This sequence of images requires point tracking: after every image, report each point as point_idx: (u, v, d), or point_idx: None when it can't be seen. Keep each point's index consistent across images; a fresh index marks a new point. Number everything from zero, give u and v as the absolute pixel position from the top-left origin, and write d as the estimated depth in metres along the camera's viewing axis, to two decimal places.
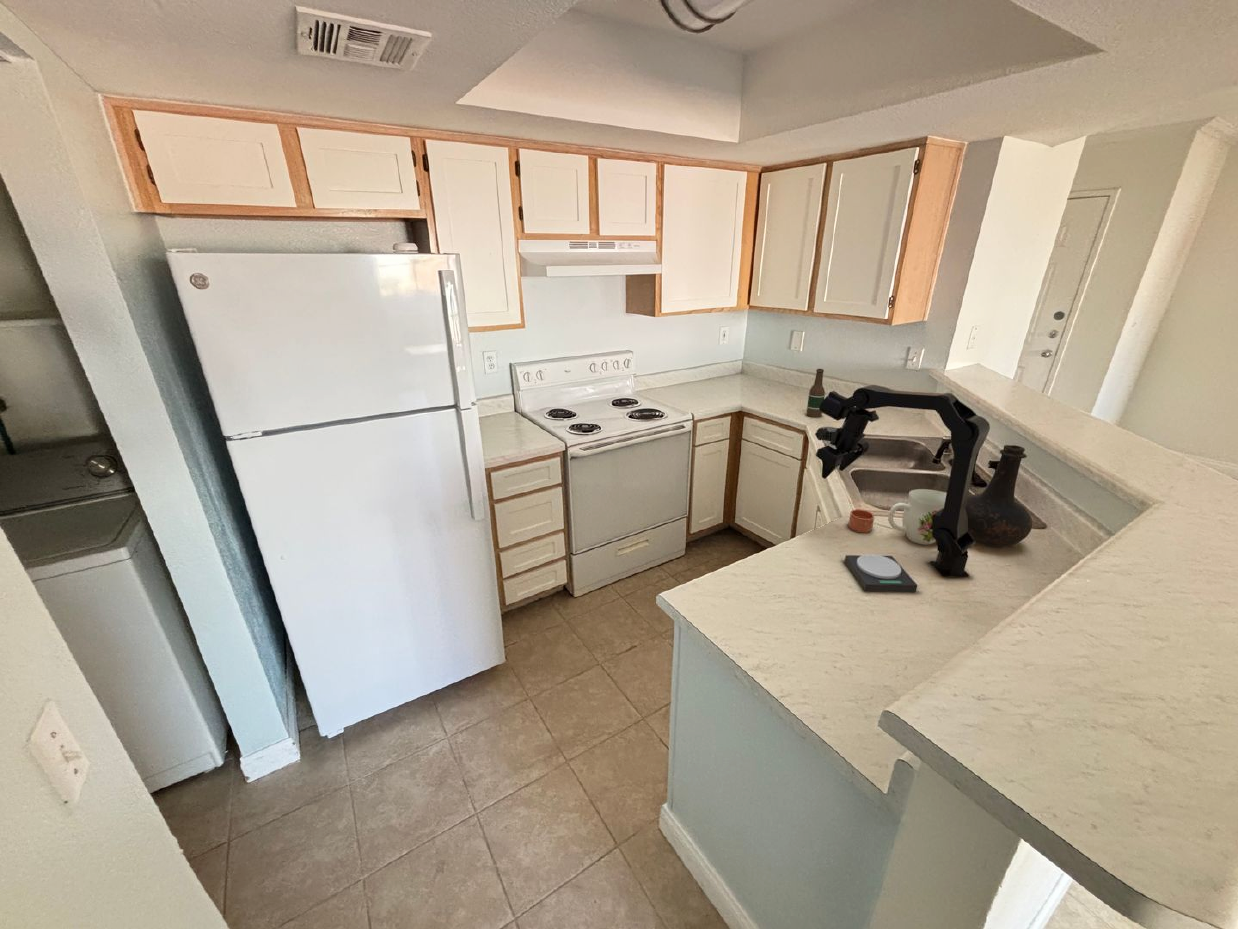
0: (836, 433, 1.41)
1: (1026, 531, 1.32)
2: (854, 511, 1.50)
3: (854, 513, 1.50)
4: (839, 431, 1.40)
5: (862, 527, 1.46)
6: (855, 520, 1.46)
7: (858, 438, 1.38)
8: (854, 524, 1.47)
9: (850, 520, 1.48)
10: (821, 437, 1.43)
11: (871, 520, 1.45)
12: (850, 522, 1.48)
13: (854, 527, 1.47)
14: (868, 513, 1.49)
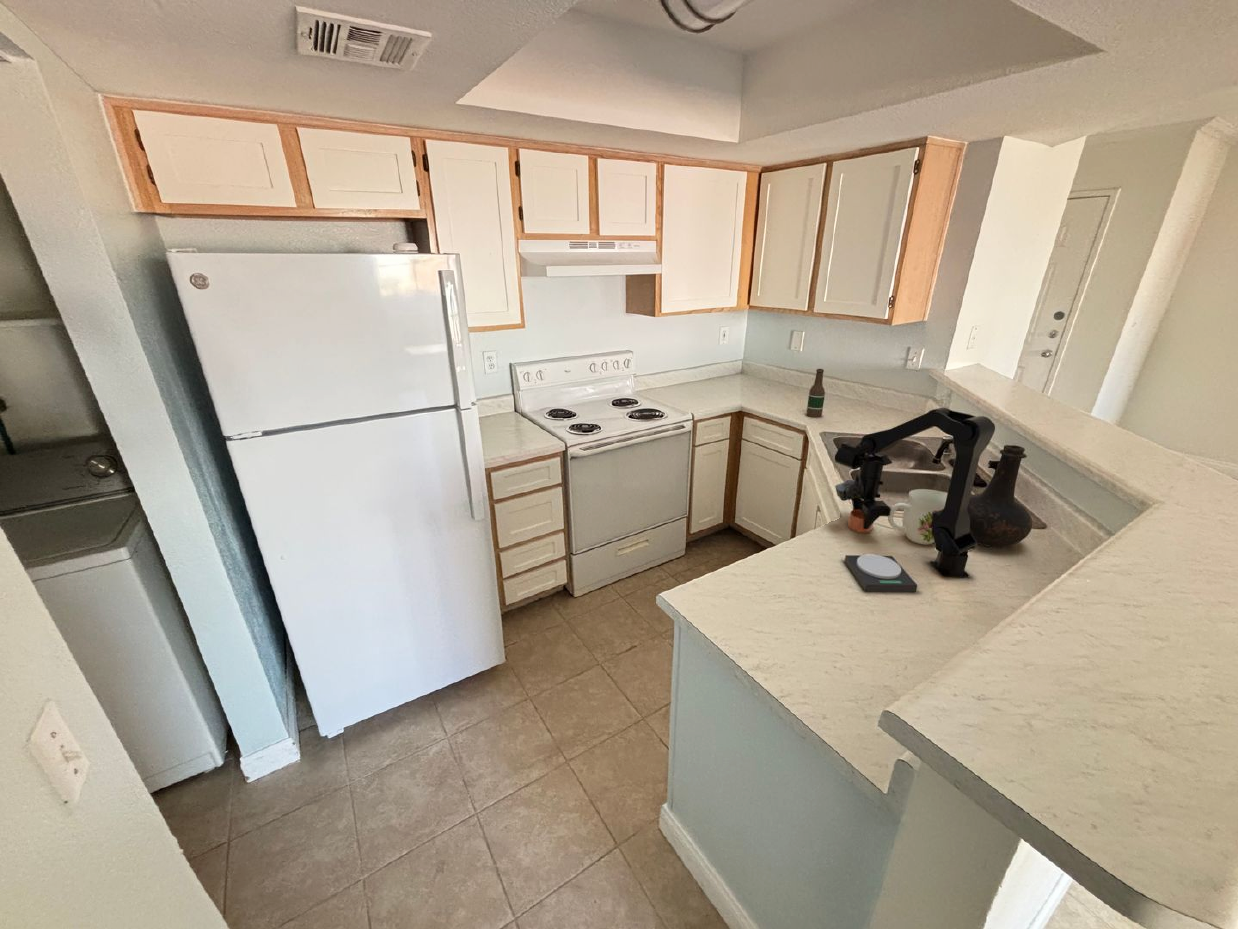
0: (862, 486, 1.41)
1: (1026, 531, 1.32)
2: (854, 511, 1.50)
3: (854, 513, 1.50)
4: (864, 483, 1.41)
5: (862, 527, 1.46)
6: (855, 520, 1.46)
7: None
8: (854, 524, 1.47)
9: (850, 520, 1.48)
10: (853, 497, 1.41)
11: None
12: (850, 522, 1.48)
13: (854, 527, 1.47)
14: None
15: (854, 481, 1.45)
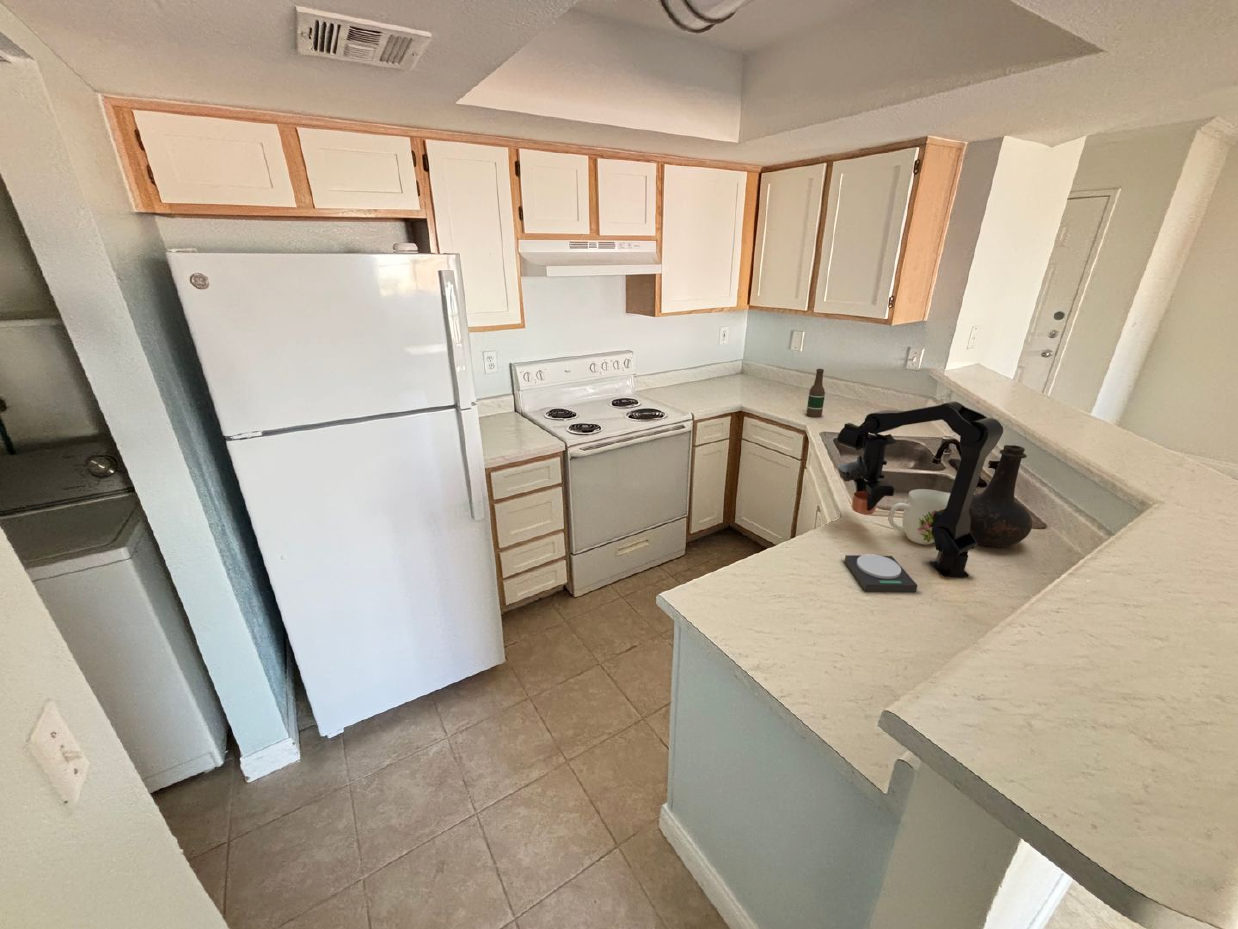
0: (866, 466, 1.39)
1: (1026, 531, 1.32)
2: (857, 493, 1.48)
3: (857, 495, 1.48)
4: (868, 463, 1.39)
5: (865, 509, 1.43)
6: (858, 502, 1.44)
7: None
8: (857, 506, 1.44)
9: (853, 502, 1.46)
10: (856, 477, 1.39)
11: None
12: (853, 504, 1.46)
13: (857, 509, 1.45)
14: None
15: (857, 462, 1.43)
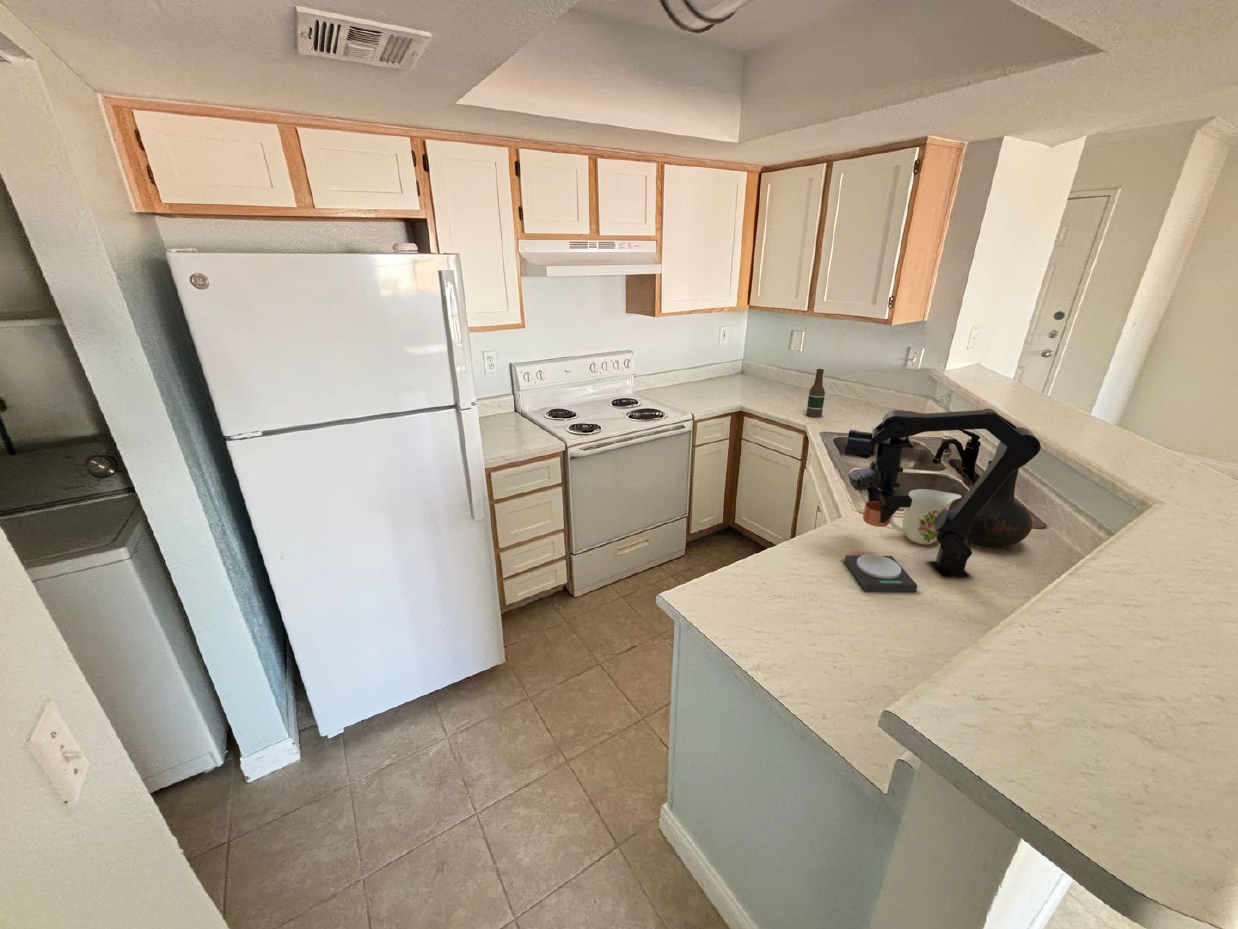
0: (879, 474, 1.24)
1: (1026, 531, 1.32)
2: (869, 503, 1.33)
3: (869, 505, 1.33)
4: (882, 470, 1.24)
5: (878, 521, 1.29)
6: (870, 513, 1.29)
7: None
8: (869, 517, 1.30)
9: (865, 513, 1.31)
10: (869, 486, 1.24)
11: None
12: (865, 515, 1.31)
13: (869, 521, 1.30)
14: None
15: (870, 468, 1.28)
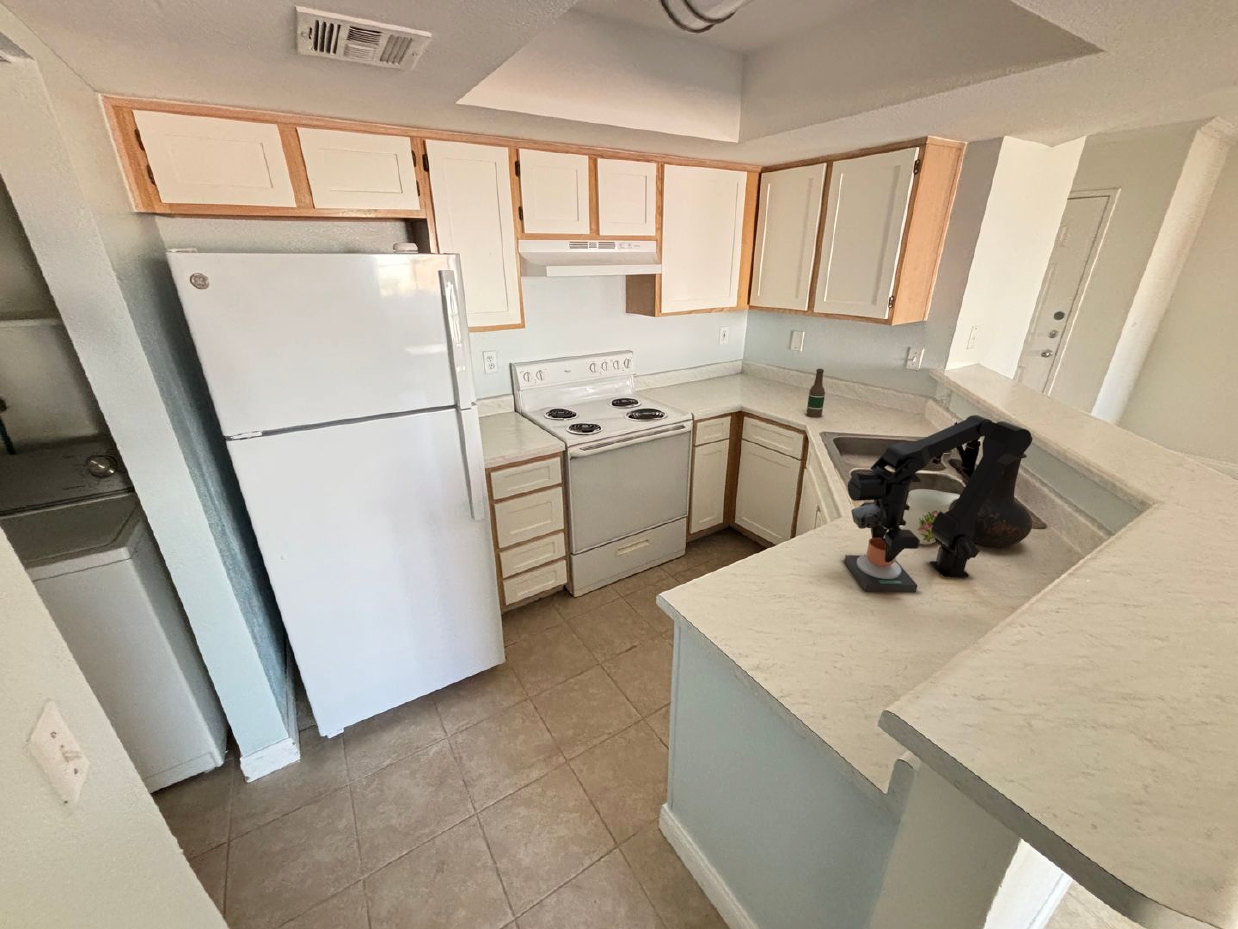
0: (884, 512, 1.18)
1: (1026, 531, 1.32)
2: (873, 540, 1.26)
3: (873, 542, 1.26)
4: (887, 508, 1.17)
5: (883, 560, 1.22)
6: (874, 552, 1.22)
7: None
8: (873, 556, 1.23)
9: (868, 551, 1.24)
10: (874, 525, 1.17)
11: None
12: (868, 553, 1.24)
13: (873, 559, 1.23)
14: None
15: (874, 505, 1.21)
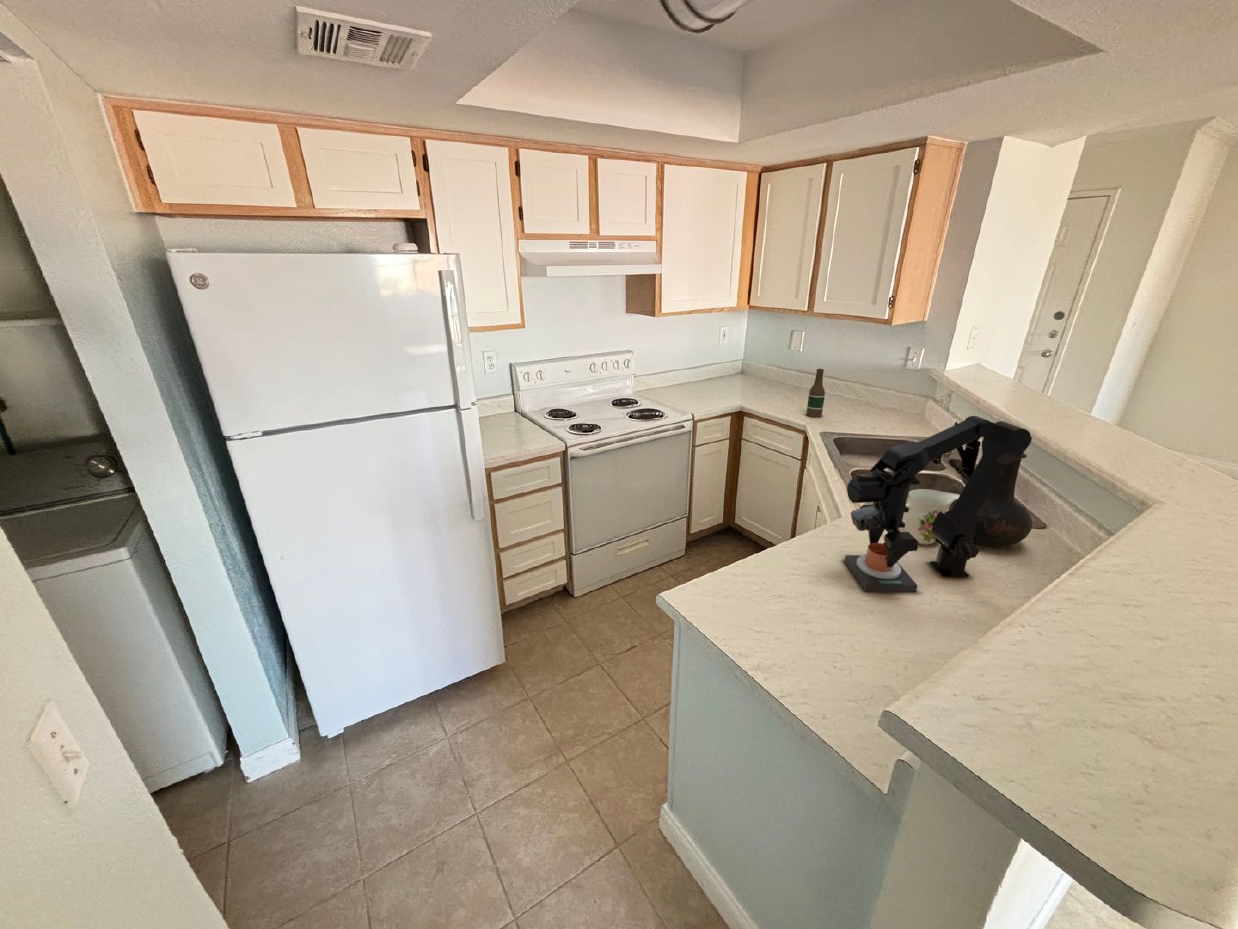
0: (884, 514, 1.18)
1: (1026, 531, 1.32)
2: (872, 545, 1.27)
3: (872, 547, 1.27)
4: (886, 510, 1.18)
5: (882, 565, 1.22)
6: (873, 557, 1.23)
7: None
8: (872, 561, 1.23)
9: (867, 556, 1.25)
10: (873, 527, 1.17)
11: None
12: (867, 558, 1.25)
13: (872, 565, 1.24)
14: None
15: (873, 507, 1.21)
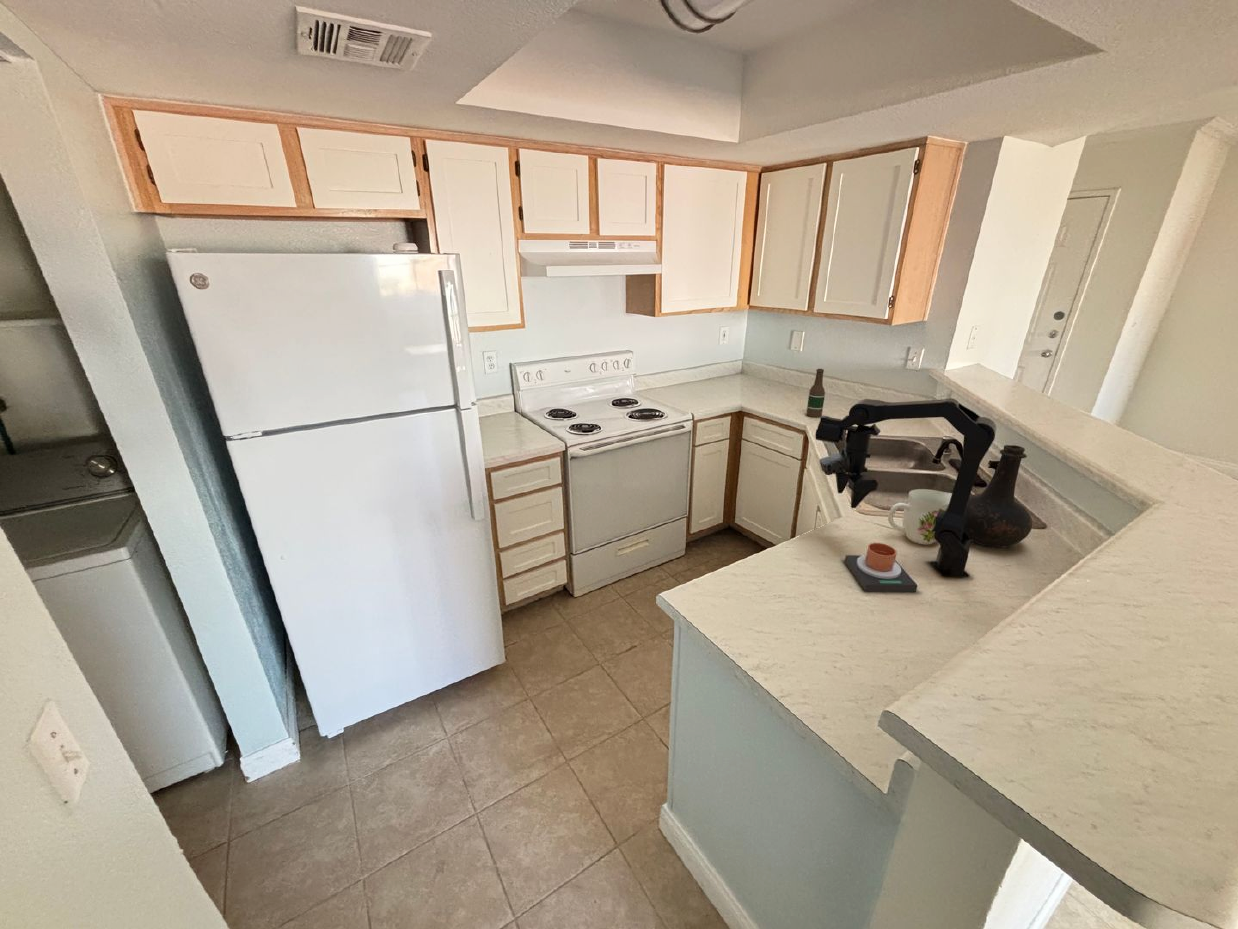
0: (848, 459, 1.31)
1: (1026, 531, 1.32)
2: (872, 545, 1.27)
3: (872, 547, 1.27)
4: (850, 456, 1.31)
5: (882, 565, 1.22)
6: (873, 557, 1.23)
7: None
8: (872, 561, 1.23)
9: (867, 556, 1.25)
10: (838, 470, 1.31)
11: (893, 557, 1.22)
12: (867, 558, 1.25)
13: (872, 565, 1.24)
14: (889, 548, 1.25)
15: (839, 454, 1.35)
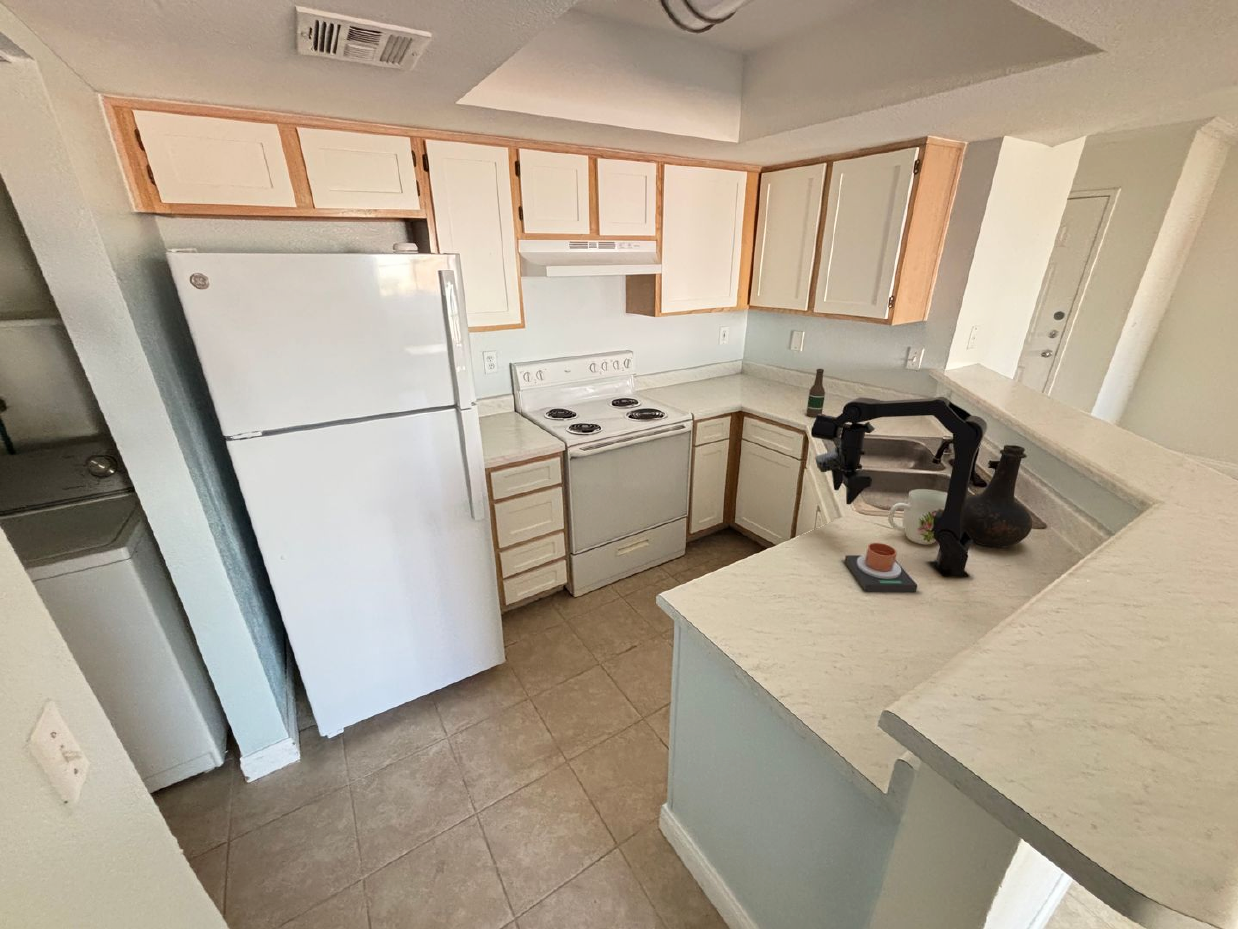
0: (843, 457, 1.34)
1: (1026, 531, 1.32)
2: (872, 545, 1.27)
3: (872, 547, 1.27)
4: (845, 453, 1.34)
5: (882, 565, 1.22)
6: (873, 557, 1.23)
7: None
8: (872, 561, 1.23)
9: (867, 556, 1.25)
10: (833, 467, 1.33)
11: (893, 557, 1.22)
12: (867, 558, 1.25)
13: (872, 565, 1.24)
14: (889, 548, 1.25)
15: (835, 452, 1.37)
